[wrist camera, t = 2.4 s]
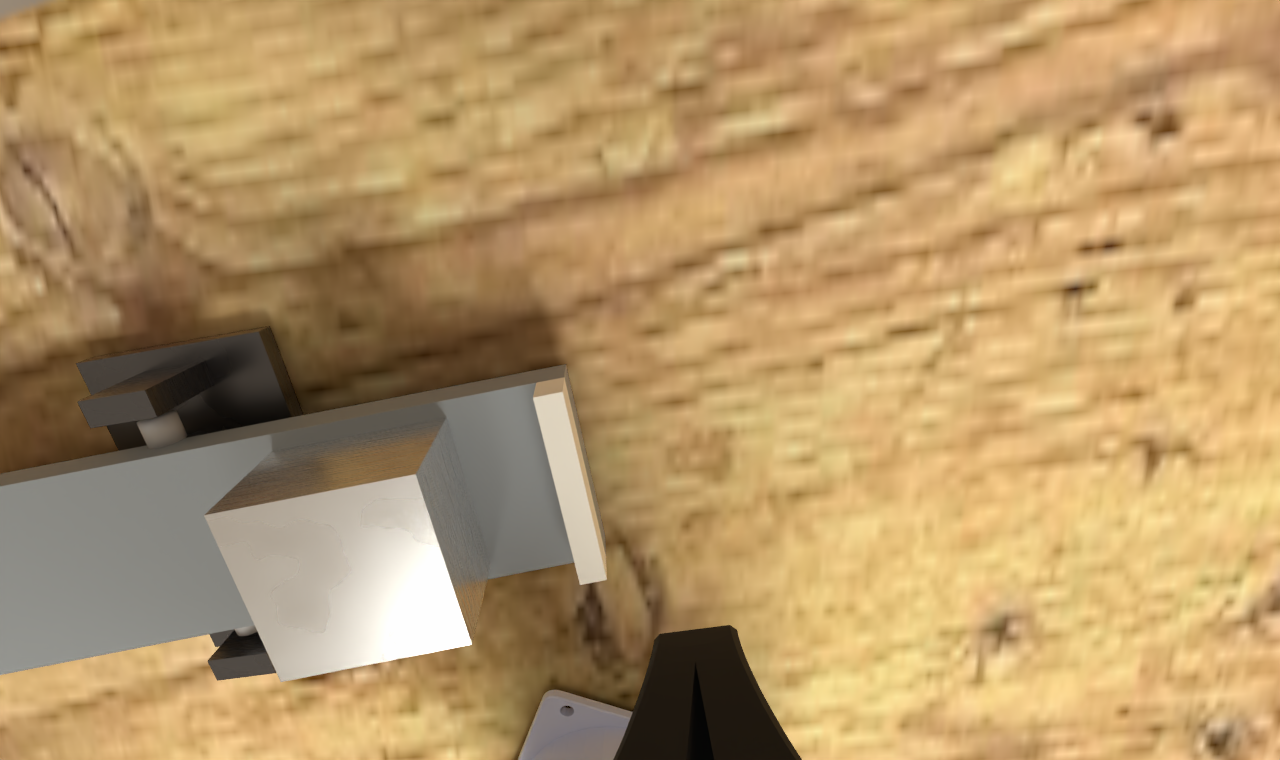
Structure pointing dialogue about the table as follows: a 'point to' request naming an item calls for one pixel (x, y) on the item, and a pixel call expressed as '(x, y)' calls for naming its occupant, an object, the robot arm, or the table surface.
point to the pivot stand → (196, 418)
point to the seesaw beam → (215, 463)
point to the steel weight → (356, 549)
